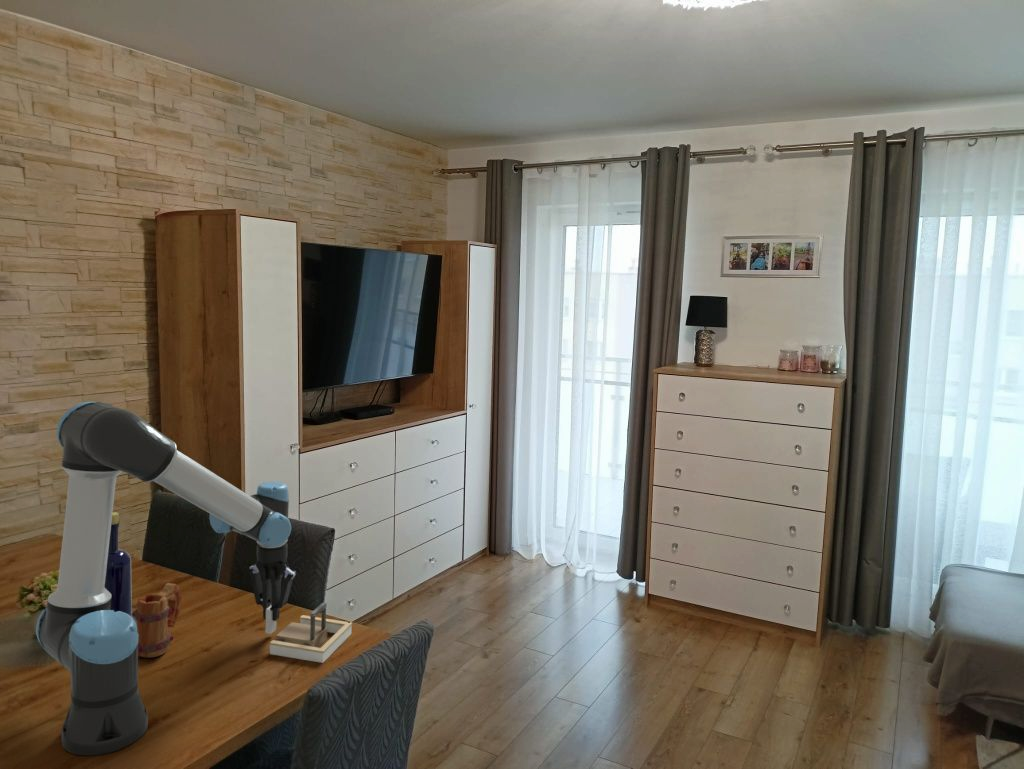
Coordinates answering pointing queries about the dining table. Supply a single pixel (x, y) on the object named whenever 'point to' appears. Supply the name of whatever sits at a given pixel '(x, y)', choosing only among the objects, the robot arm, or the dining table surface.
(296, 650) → the bay
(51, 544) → the dining table surface
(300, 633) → the trolley
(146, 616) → the mug
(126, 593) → the bottle
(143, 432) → the robot arm
